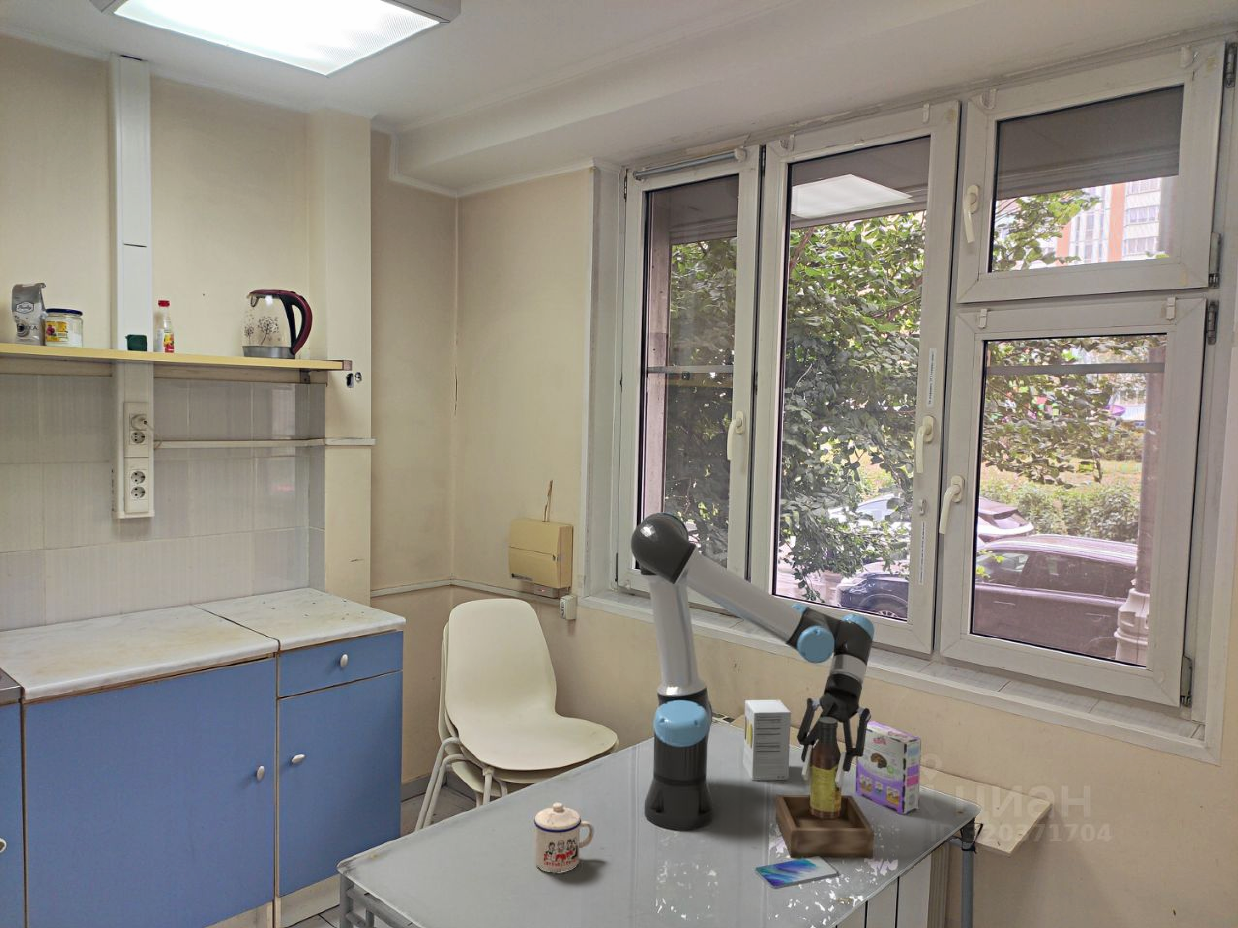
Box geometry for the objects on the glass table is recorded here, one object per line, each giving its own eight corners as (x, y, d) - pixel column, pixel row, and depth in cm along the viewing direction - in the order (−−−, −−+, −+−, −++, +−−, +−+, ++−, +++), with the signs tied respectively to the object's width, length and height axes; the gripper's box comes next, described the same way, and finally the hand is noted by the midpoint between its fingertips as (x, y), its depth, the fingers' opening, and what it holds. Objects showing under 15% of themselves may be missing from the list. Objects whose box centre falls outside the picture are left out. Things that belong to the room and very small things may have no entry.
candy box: (919, 809, 199) (922, 737, 198) (902, 815, 196) (905, 742, 195) (870, 787, 210) (873, 719, 209) (853, 792, 207) (856, 723, 206)
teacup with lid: (541, 878, 167) (542, 818, 166) (528, 855, 175) (528, 797, 174) (601, 867, 171) (602, 808, 170) (585, 845, 180) (586, 789, 179)
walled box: (790, 857, 177) (791, 830, 176) (775, 819, 193) (776, 794, 193) (873, 858, 177) (874, 831, 176) (850, 819, 193) (851, 795, 193)
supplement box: (742, 765, 222) (744, 699, 221) (778, 764, 223) (780, 698, 222) (752, 781, 212) (754, 712, 211) (789, 780, 213) (791, 711, 212)
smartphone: (840, 873, 170) (772, 887, 165) (840, 877, 170) (772, 891, 165) (819, 854, 177) (753, 867, 171) (819, 858, 177) (753, 871, 171)
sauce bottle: (841, 822, 181) (844, 727, 179) (809, 819, 182) (812, 724, 181) (839, 808, 187) (843, 716, 186) (809, 805, 188) (812, 713, 187)
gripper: (892, 697, 192) (871, 799, 179) (805, 682, 201) (779, 778, 188) (887, 679, 187) (865, 782, 174) (798, 665, 196) (771, 762, 183)
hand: (821, 780), depth 181 cm, fingers closed on sauce bottle, 6 cm apart
